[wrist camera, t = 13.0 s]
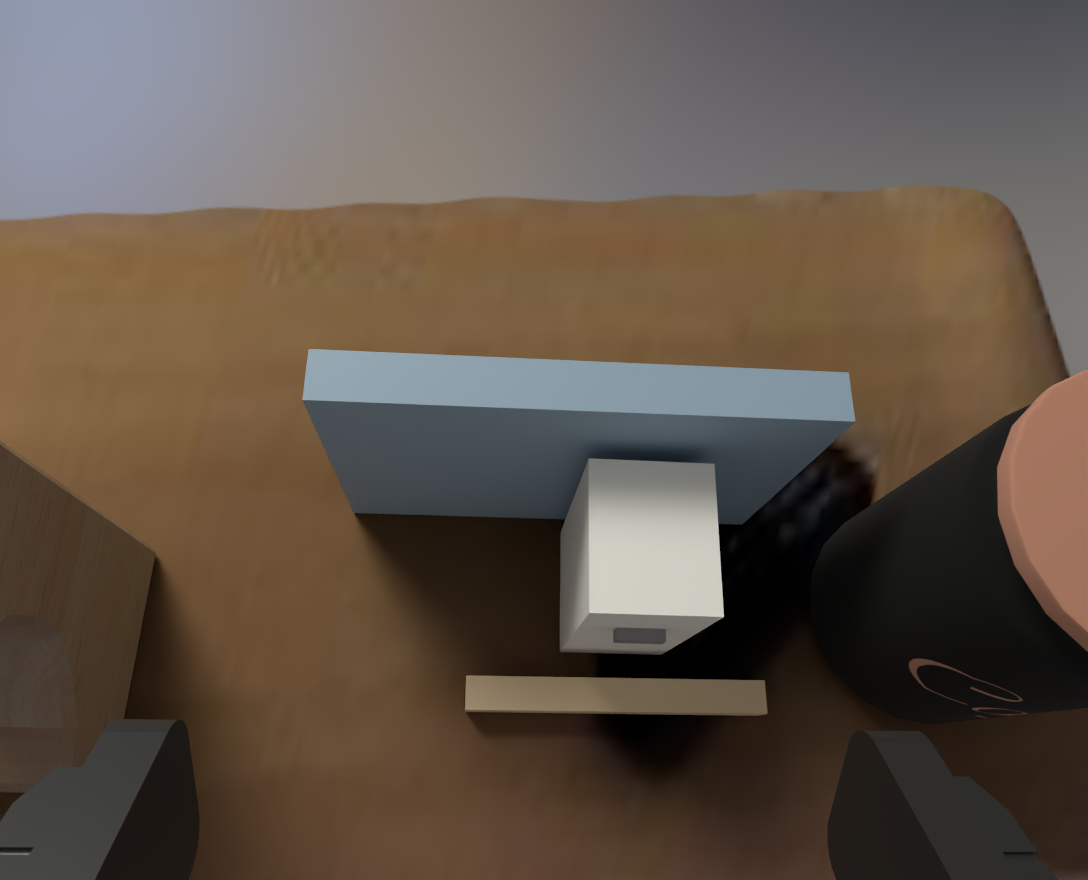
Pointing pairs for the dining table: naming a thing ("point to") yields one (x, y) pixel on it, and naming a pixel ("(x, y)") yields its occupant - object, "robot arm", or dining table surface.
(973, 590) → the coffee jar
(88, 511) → the decorative block
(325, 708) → the dining table surface
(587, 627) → the cabinet
